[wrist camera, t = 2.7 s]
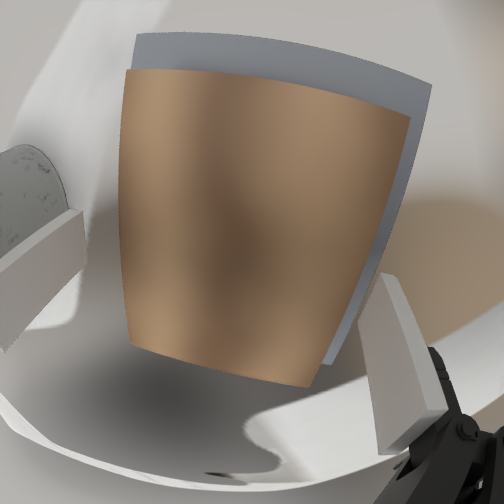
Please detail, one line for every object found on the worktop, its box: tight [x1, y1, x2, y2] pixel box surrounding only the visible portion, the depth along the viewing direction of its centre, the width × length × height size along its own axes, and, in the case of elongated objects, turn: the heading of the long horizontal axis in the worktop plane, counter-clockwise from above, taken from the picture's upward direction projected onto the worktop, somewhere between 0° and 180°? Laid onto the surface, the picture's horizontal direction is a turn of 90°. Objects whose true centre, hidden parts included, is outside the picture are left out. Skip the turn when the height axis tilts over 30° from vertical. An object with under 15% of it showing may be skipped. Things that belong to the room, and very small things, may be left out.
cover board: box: [119, 69, 411, 388], centre depth 15 cm, size 11×15×4 cm
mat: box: [131, 32, 432, 365], centre depth 17 cm, size 16×20×1 cm
